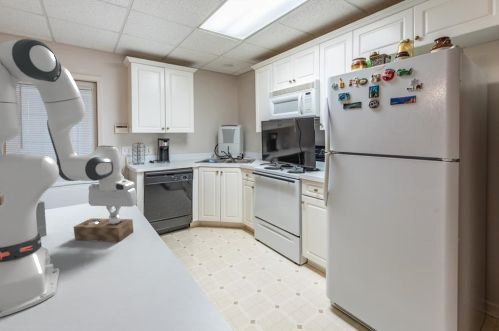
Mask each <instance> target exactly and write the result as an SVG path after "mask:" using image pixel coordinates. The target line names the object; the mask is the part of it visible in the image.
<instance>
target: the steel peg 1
mask: <svg viewBox="0 0 499 331" xmlns="http://www.w3.org/2000/svg"><path fill="white" fill-rule="evenodd" d="M97 223H99V221H92V222H89V223H88V225H95V224H97Z"/></svg>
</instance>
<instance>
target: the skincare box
mask: <svg viewBox="0 0 499 331" xmlns="http://www.w3.org/2000/svg"><path fill="white" fill-rule="evenodd" d="M36 221H37V231H38V233H39V234H40V237H41V238H42V237H45V236H48V235H47V224H46V206H45V201H43V200H41V199H39V202H38V204H37V208H36Z"/></svg>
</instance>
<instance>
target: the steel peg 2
mask: <svg viewBox="0 0 499 331" xmlns="http://www.w3.org/2000/svg"><path fill="white" fill-rule="evenodd" d="M108 219H109V224H110V225H118V224H120V219H121V218H120V214H119V215H118V216H110V215H109V216H108Z"/></svg>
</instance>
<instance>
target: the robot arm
mask: <svg viewBox="0 0 499 331" xmlns="http://www.w3.org/2000/svg"><path fill="white" fill-rule="evenodd" d="M19 82H23V83H27V82H30V83H31V84H32V85H33V86H34V87H35V88H36V89H37V90H38V92H39V96H40V98H41V101H42V103H43V106H44V107H45V112H46V116H47V120H46V126H47V131H48V135H49V137H50V140H51V141H50V142H51V144H52V148H53V151H54V154H55V158H56V161H55V159H53V158H52V157H51V156H49V155H45V154H39V153H38V154H37V153H31V152H29V153H28V152H27V153H7V154H6V153H5V154H3V147H4V145H5V143H7V142H8V141H11V140H13V139H15V138H16V137H18V136H19V135H20V133H21V132H22V130H23V125H22V124H23V123H22V120H21V119H22V118H21V112H20V105H19V100H18V99H19V98H18V96H17V86H18V84H19ZM86 110H87V109H86V105H85V102H84V100H83V97H82V94H81V92H80V89H79V87H78V84H77V83H76V81H75V79H74V77H73V76H72V74H71V72H70V71H69V69H67V68H66V67H65V66H63V65H62V64H61V62H60V60H59V59H58V57H57V55H56V53H55V52H54V51H53V50H52V49H51V47H49V45H47V44H46V43H44V42H42V41H40V40H36V39H32V38H31V39H30V38H21V39H6V40H3V41H0V194H3V202H2V204H0V318H1V317H4V316H8V315H11V314H14V313H16V312H20V311H23V310H25V309H28V308H30V307H33V306H35V305H37V304H40V303H42V302H44V301H46V300H48V299H50V298H52V296H54V295H55V294H56V291H57V286H58V282H59V278H60V269H59V268H57V267H54V264H53V263H51V261H52V256H51V255H50V253H49V249H48V248H46V247H43V246H42V244H43V243H42V237H40V234H39V233H38V231H37V221H36V208H37V204H38V202H39V200H41V197H42V196H43V195H44V193H46V192H47V191H48V190H49V189H50V188H51V187H53V186H54V185H55V183H56V182H57V181H58V178H59V176H60V178H62V180H64V181H67V182H74V181H77V182H78V181H83V182H88V181H89V182H97V181H98V183H91V184H90V185H89V186H88V205H90V206H91V207H105V209H107V211H108V213H109V216H118V215H119V216H120V212H119V211H120V210H121V207H127V208H128V207H130V208H132V207H134V206H136V205H137V203H138V194H137V190H136V188H135V184H136V183H135V182H134V181H132V180H128V179H126V178H123V174H122V171H121V170H122V159H121V154H120V151H119V149H118V147H116V146H113V145H98V146H97V147H96V149H95V150H94V151H93V152H91V153H90V154H87V155H79V154H78V153H77V152H76V151H75V148H74V144H73V140H72V137H71V131H72V129H73V128H74V127H75V126H76V125H78V124H80V123H81V122H82V121H83V119H84V118H85V116H86V114H87V111H86ZM113 207H114V209H115V210H114V209H113Z"/></svg>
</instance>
